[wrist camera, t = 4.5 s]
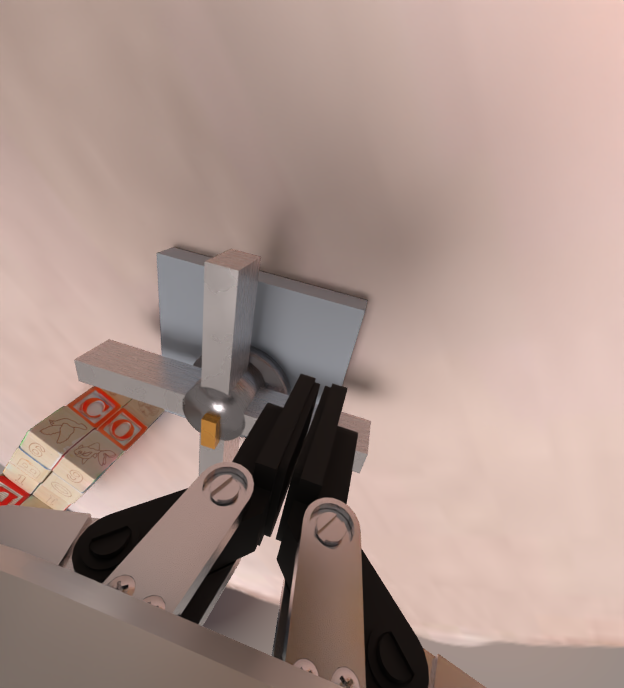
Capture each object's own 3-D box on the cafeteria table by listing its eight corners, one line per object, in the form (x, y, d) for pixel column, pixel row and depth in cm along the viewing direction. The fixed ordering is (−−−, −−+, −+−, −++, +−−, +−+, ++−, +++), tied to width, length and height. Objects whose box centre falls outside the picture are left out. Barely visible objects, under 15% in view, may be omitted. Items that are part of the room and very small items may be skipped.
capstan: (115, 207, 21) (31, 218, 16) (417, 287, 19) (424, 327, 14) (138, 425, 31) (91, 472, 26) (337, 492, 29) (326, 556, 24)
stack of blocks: (121, 364, 32) (-18, 462, 21) (170, 406, 33) (63, 518, 22) (54, 449, 42) (-62, 544, 31) (93, 479, 43) (-5, 580, 32)
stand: (173, 247, 24) (154, 253, 22) (369, 300, 23) (367, 312, 21) (177, 397, 32) (163, 412, 30) (324, 445, 30) (319, 464, 28)
